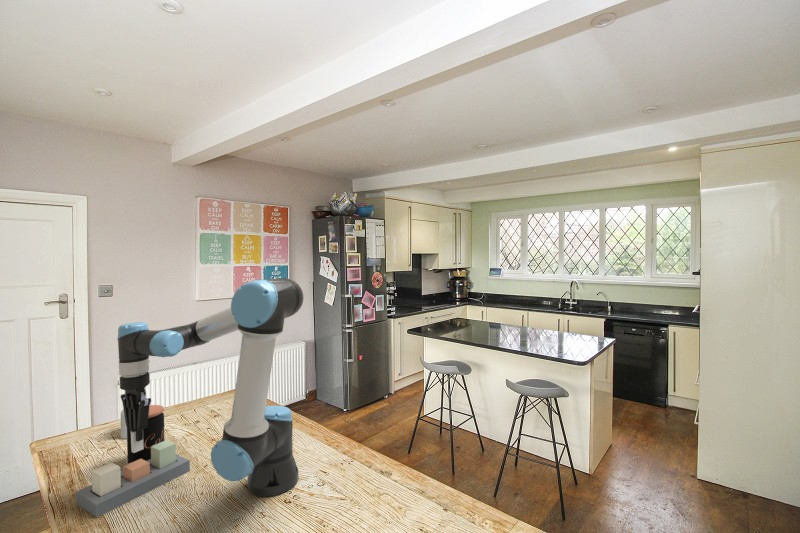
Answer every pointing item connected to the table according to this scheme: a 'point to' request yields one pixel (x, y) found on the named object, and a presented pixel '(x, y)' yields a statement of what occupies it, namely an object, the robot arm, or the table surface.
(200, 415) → the table surface
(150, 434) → the coffee jar
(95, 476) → the cream button
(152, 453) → the sage button
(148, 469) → the terracotta button
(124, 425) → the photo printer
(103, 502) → the slate panel
